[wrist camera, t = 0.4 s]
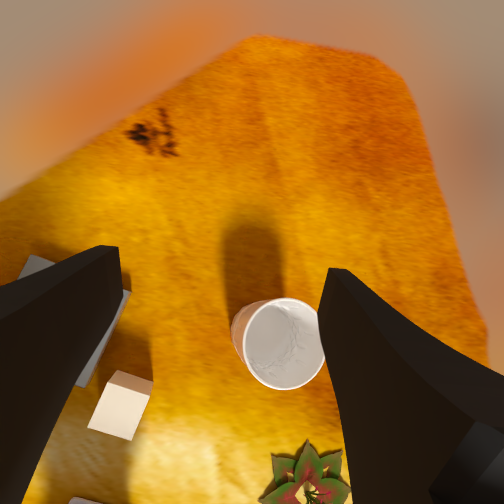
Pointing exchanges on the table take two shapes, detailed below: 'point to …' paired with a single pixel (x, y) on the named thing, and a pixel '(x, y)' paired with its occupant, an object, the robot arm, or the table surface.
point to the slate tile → (85, 377)
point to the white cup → (279, 342)
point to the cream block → (121, 405)
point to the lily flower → (309, 469)
